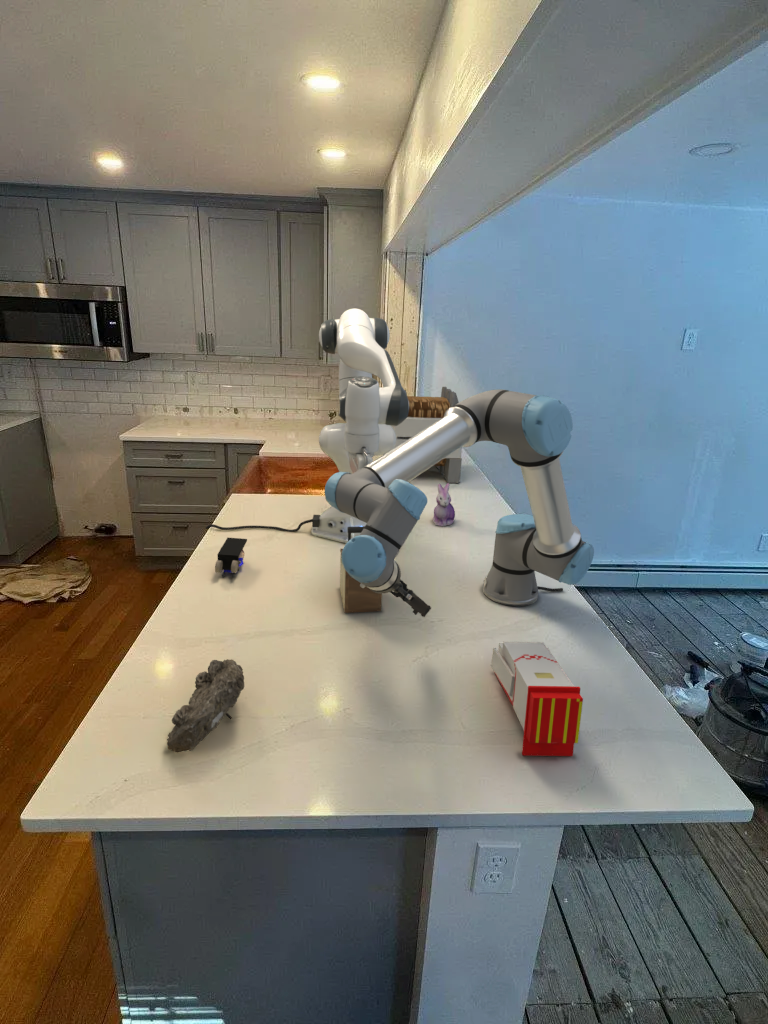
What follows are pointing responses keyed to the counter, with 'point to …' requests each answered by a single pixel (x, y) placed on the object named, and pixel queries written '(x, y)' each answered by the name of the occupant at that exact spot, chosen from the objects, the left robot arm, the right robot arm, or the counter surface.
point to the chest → (357, 595)
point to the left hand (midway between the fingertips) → (360, 494)
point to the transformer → (425, 415)
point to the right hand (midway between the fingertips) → (397, 588)
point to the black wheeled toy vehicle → (230, 556)
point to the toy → (539, 697)
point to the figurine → (443, 507)
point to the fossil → (206, 705)
